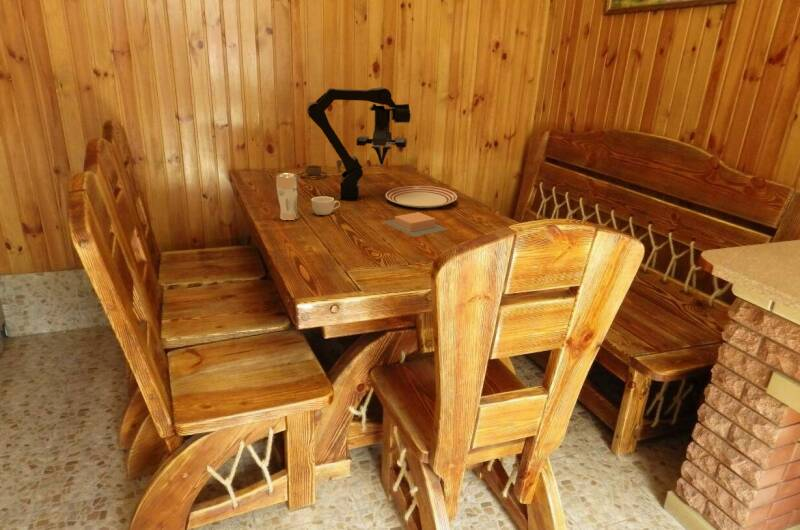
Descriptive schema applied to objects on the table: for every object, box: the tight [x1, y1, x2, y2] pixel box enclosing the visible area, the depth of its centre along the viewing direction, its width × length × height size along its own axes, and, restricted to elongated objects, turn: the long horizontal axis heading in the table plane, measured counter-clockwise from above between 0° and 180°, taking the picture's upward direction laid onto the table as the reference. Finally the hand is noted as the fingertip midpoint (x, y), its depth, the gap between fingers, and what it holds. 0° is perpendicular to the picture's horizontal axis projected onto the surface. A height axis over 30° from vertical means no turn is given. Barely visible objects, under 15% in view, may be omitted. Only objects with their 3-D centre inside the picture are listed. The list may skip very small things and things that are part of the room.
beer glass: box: [275, 172, 299, 221], centre depth 180 cm, size 7×7×15 cm
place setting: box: [300, 159, 343, 179], centre depth 244 cm, size 18×20×6 cm
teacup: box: [310, 195, 341, 216], centre depth 188 cm, size 10×8×5 cm
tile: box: [394, 211, 436, 232], centre depth 177 cm, size 3×10×9 cm
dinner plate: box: [385, 185, 458, 209], centre depth 206 cm, size 28×27×3 cm
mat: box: [382, 219, 449, 238], centre depth 177 cm, size 18×14×1 cm
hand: (381, 164), depth 207 cm, fingers closed
